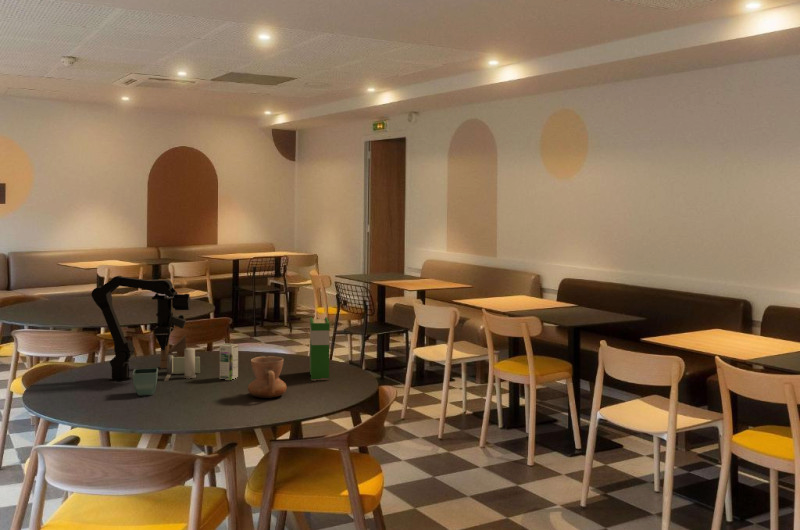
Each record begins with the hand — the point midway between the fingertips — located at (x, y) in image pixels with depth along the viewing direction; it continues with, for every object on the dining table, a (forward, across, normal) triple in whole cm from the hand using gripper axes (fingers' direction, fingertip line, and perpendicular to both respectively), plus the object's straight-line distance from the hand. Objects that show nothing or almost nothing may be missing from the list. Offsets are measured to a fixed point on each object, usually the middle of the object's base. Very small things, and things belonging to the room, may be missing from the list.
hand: (164, 347), depth 307 cm
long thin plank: (+13, +6, -1) cm, 14 cm away
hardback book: (+13, -2, -63) cm, 65 cm away
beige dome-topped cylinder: (+13, +2, -10) cm, 16 cm away
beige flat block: (+13, +10, -8) cm, 18 cm away
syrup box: (+13, -2, -26) cm, 29 cm away
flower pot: (+13, -25, +4) cm, 28 cm away
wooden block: (+13, +23, -1) cm, 27 cm away
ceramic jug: (+13, -34, -41) cm, 55 cm away
